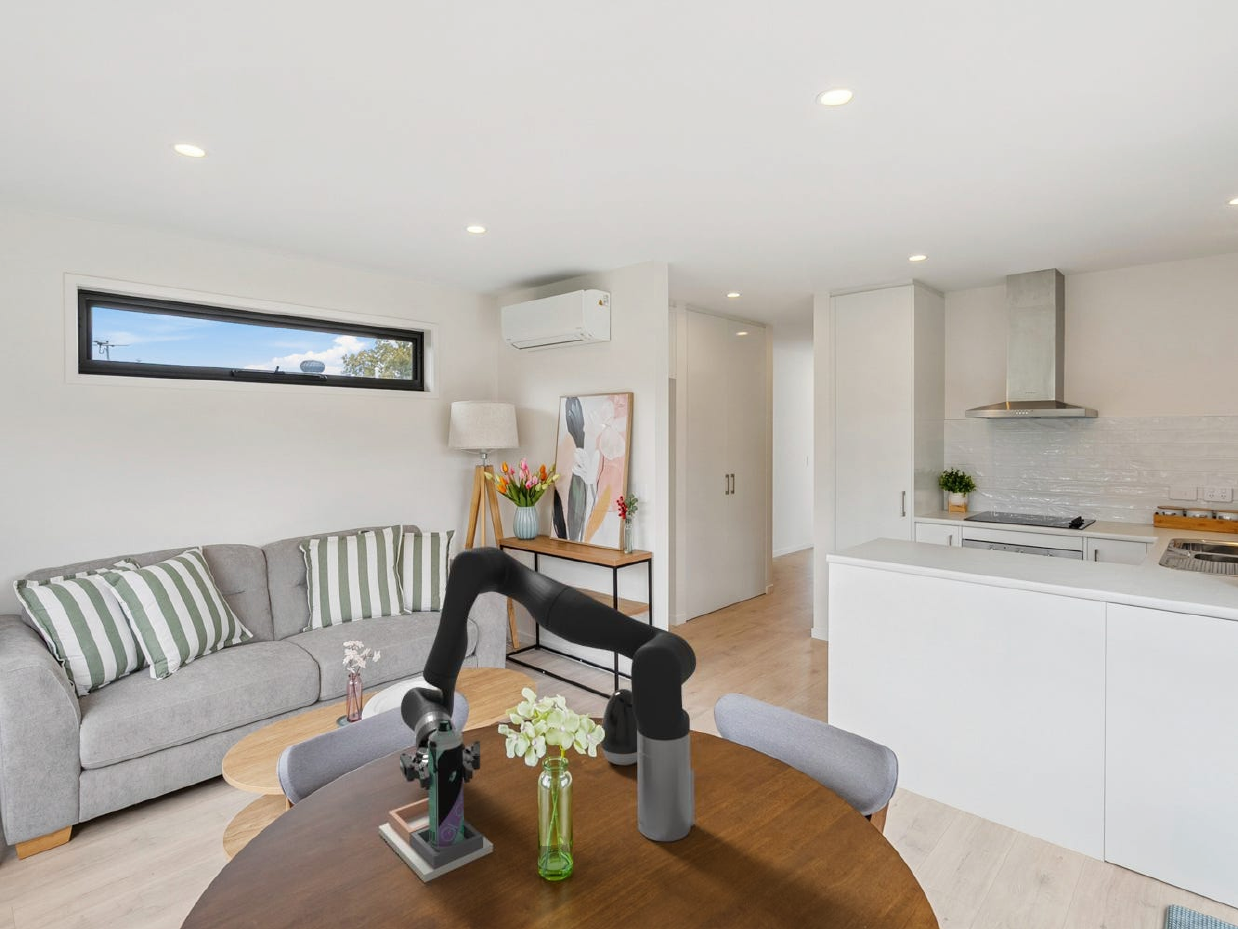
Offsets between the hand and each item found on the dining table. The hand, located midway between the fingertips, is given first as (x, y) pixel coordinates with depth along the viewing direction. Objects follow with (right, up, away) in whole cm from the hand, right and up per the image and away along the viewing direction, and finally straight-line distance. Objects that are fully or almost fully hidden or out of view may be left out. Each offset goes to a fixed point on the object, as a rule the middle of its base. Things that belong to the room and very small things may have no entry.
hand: (447, 780), depth 107 cm
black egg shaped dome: (+29, -13, +36) cm, 47 cm away
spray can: (-1, -11, +3) cm, 12 cm away
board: (-4, -13, +6) cm, 15 cm away
